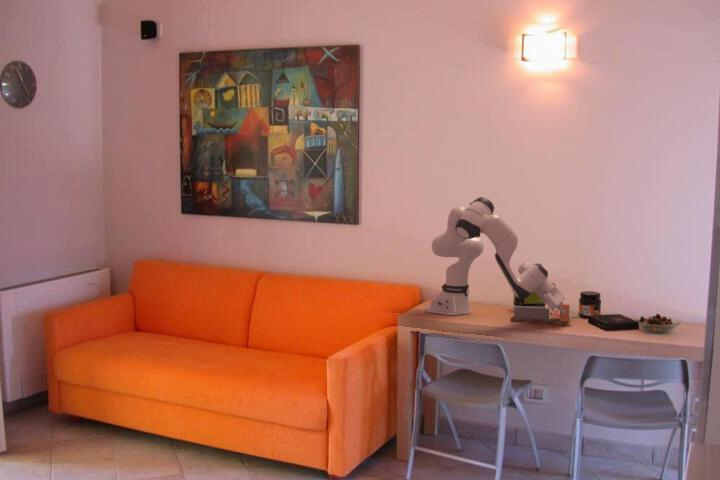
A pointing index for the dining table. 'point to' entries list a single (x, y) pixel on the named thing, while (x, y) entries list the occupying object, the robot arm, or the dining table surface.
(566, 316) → the stub
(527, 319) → the brown flat board
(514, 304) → the tea box
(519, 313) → the grey long bar
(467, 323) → the dining table surface
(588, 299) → the supplement container
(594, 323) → the portable cd player
